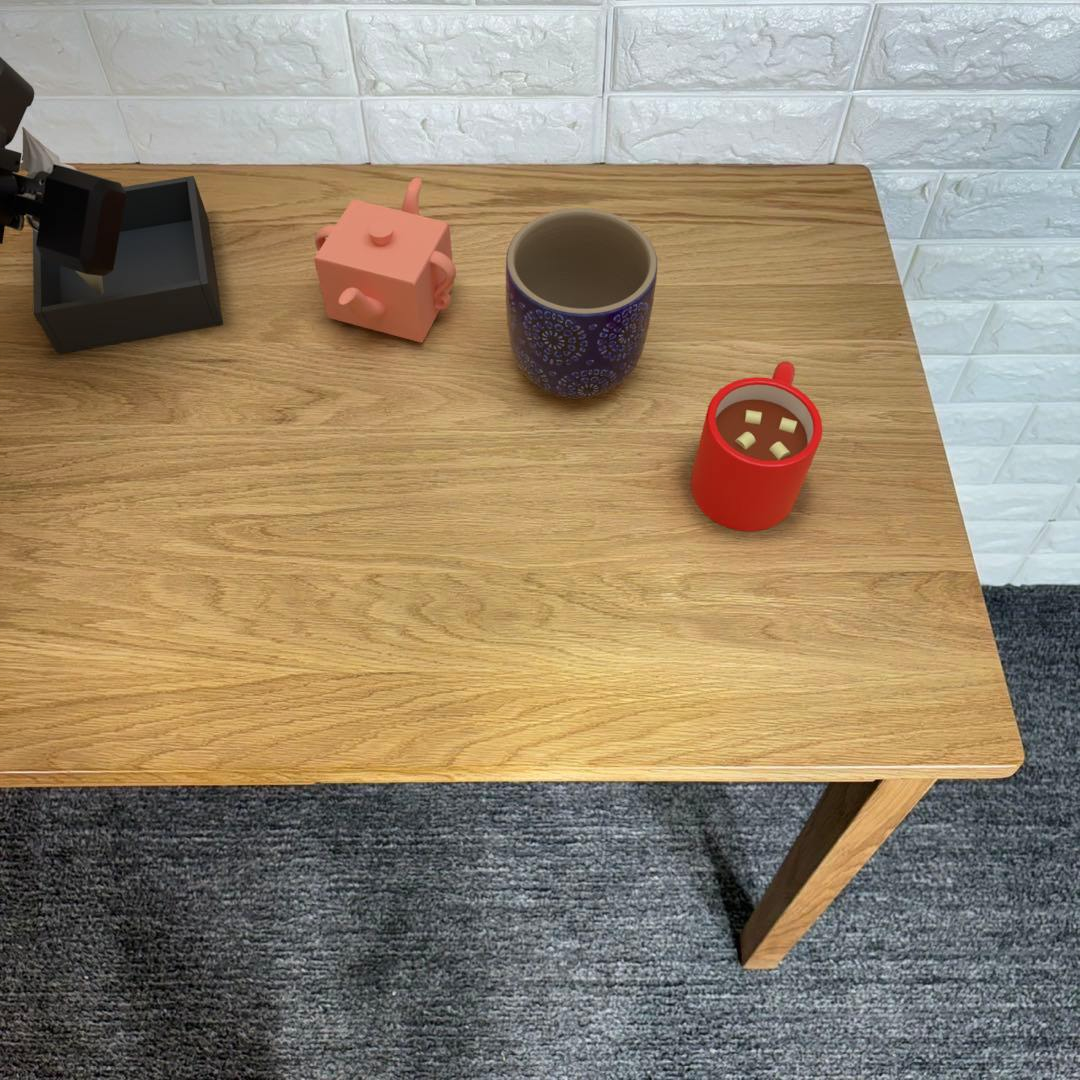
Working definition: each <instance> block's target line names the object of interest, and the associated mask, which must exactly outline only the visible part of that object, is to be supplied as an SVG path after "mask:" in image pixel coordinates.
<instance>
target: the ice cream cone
mask: <svg viewBox="0 0 1080 1080" xmlns="http://www.w3.org/2000/svg"><path fill="white" fill-rule="evenodd" d="M21 128H22V155H21V161H22V163H21V164H20V169H21V170H23V171H25V172H26V173H27V174H26V177H29V178H33V177H34V176H35V174H36V173H37V172H39V171H45V172H48V173H51V172H52V170H53V165H54V164H55V165H59V166H63V167H67V168H71V169H75V170H77V169H76V168H75V166H73V165H70V164H67V163H64V162H62V161H61V160H60V155H58V154H57V153H55V152H54V151H52V150H51V149H50V148H49V147H46V146H45V145H44V144H43V143H41V141H40V140H38V139H37V138H36V137H35V136H34V135H32V133H30V131H29V130H28V129H26V128H25V127H24V126H21ZM20 169H19V170H20ZM37 193H39V192H37ZM22 196H26V197H29V198H32V199H35V195H31V194H28V193H26V192H25V193H24V194H23V195H22ZM25 220H26V223H27V224H28V226H29V227H30V228H31V229H32V230H33V229H34V230H35V231H37V232H38V228H39V224H38V223H36V222H33V221H32V216H31V215H27V214H26V215H25ZM76 272H77V273H78V274H79V275H80V276H81V277H82V278H83V279H84V280H85V281H86V282H87V283H88V284H89V285H90V287H91V288H92V289H93V290H94V291H95V292H96V293H97V294H99V295H101V294H103V292H104V291H103V280H102V276H98V275H90V274H84V273H81V272H78V271H76Z"/></svg>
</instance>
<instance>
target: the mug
mask: <svg viewBox="0 0 1080 1080" xmlns="http://www.w3.org/2000/svg"><path fill="white" fill-rule="evenodd" d="M795 375H796V368H795V366H794V364H793V363H792V362H790V361H786V360H785V361H781V362H779V363H777V365H776V367H775V368H774V370H773V375H772V377H770V378H769V377H759V376H755V377H753V376H752V377H745V378H740V379H737V380H734V381H732V382H730V383H728V384H726V385H725V386H723V387H722V388H721V389H719V390H718V391H717V392H716V393H715V394H714V396H713V397H712V398H711V400H710V402H709V403H708V406H707V410H706V414H705V418H704V421H703V426H702V430H701V433H700V438H699V442H698V447H697V451H696V455H695V459H694V464H693V466H692V467H693V468H692V472H691V475H690V490H691V493H692V497H693V499H694V501H695V503H696V505H697V506H698V508H699V509H700V510H701V511H702V513H703V514H705V516H706V517H708V518H709V519H710V520H712V521H714V522H716V523H717V524H719V525H720V526H723V527H725V528H728V529H731V530H736V531H741V532H757V531H763V530H767V529H770V528H773V527H774V526H776V525H779V524H780V523H781V522H783V521H784V520H785V519H786V518H787V517H788V516H789V515H790V513H791V512H792V511H793V509H794V506H795V504H796V502H797V499H798V497H799V495H800V492H801V489H802V487H803V485H804V482H805V479H806V477H807V475H808V473H809V470H810V468H811V465H812V463H813V460H814V458H815V456H816V453H817V451H818V448H819V446H820V443H821V441H822V438H823V431H824V429H823V428H824V427H823V421H822V417H821V414H820V412H819V411H820V410H818V408H817V405H815V403H814V402H813V400H811V399H810V397H808V395H807V394H806V393H804V392H802V391H801V389H799V388H797V387H795V386H794V385H793V382H794V379H795V378H794V377H795Z"/></svg>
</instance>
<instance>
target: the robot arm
mask: <svg viewBox="0 0 1080 1080" xmlns="http://www.w3.org/2000/svg"><path fill="white" fill-rule="evenodd" d="M34 99H35V89H34V87H33V86H32V85H31V84H30V83H29V82H28V81H27V80H26V79H25V78H24V77H23V76H22V75H21V74H19V73H18V72H17V71H16V69H14V68H13V67H12V66H11V65H10V64H9V63H8V62H7V61H6V60H5V59H3V57H1V56H0V245H3V244H4V243H3V242H4V237H5V229H6V228H10V229H13V230H16V231H23V230H24V228H25V222H26V221H25V220H26V218H25V217H26V214H27V215H31V216H32V221H33V222H36V223H38V224H39V228H38V235H37V242H36V246H37V248H38V250H39V252H40V254H41V256H42V258H43V260H44V261H47V262H50V263H54V264H57V265H60V266H63V267H66V268H69V269H72V270H75V271H78V272H81V273H84V274H90V275H98V276H106V275H107V274H109V273H110V272H112V271H113V269H114V263H115V257H116V251H117V245H118V240H119V234H120V228H121V222H122V216H123V210H124V205H125V199H126V192H125V190H124V189H123V187H124V186H123V185H122V183H121V182H118V181H114V180H112V179H108V178H105V177H101V176H99V175H95V174H91V173H89V172H85V171H81V170H78V169H76V168H75V169H76V170H75V169H71V168H67V167H63V166H59V165H55V164H54V165H53V170H52V172H51V173H48V172H45V171H39V172H37V173H36V174H35V176H34V177H33V178H29V177H26V176H27V175H26V176H25V175H22V174H20V173H19V172H20V167H21V161H22V155H23V152H19V151H16V150H13V149H9V148H6V146H8V145H10V144H11V142H13V140H14V138H15V137H16V134H17V131H18V130H19V127H20V124H21V123H22V121H23V118H24V115H25V113H26V111H27V109H28V107H31V106H32V104H33V102H34ZM18 173H19V174H18ZM25 192H26V193H28V194H31V195H35V199H32V198H29V197H26V196H22V195H23V194H24V193H25ZM37 192H39V193H37Z"/></svg>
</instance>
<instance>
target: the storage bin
mask: <svg viewBox="0 0 1080 1080" xmlns="http://www.w3.org/2000/svg"><path fill="white" fill-rule="evenodd" d="M122 187H123V189H124V190H125V192H126V199H125V205H124V210H123V216H122V222H121V228H120V234H119V240H118V245H117V251H116V257H115V263H114V269H113V271H112V272H110V273H109V274H107V275H106V276H102V280H103V291H104V292H103V294H101V295H99V294H97V293H96V292H95V291H94V290H93V289H92V288H91V287H90V285H89V284H88V283H87V282H86V281H85V280H84V279H83V278H82V277H81V276H80V275H79V274H78V273H77V272H76V271H75V270H72V269H69V268H66V267H63V266H60V265H57V264H54V263H50V262H47V261H44V260H43V258H42V256H41V254H40V252H39V250H38V248H37V246H36V242H37V235H38V232H37V231H35V230H34V229H32V272H33V273H32V289H33V291H32V292H33V293H32V295H33V298H32V300H33V309H32V311H33V315H34V317H35V319H36V321H37V323H38V324H39V325H40V327H41V329H42V331H43V332H44V334H45V336H46V337H47V339H48V341H49V342H50V345H51V346H52V348H53V349H54V352H55V353H56V354H57V355H62V354H67V353H72V352H78V351H85V350H89V349H95V348H99V347H104V346H110V345H111V346H112V345H116V344H122V343H127V342H133V341H138V340H139V341H140V340H144V339H150V338H156V337H161V336H167V335H173V334H177V333H182V332H188V331H194V330H200V329H204V328H205V329H206V328H210V327H215V326H221V325H224V322H223V315H222V308H221V307H222V306H221V300H220V292H219V285H218V279H217V278H218V277H217V272H216V265H215V257H214V250H213V243H212V236H211V229H210V222H209V217H208V213H207V211H206V208H205V204H204V202H203V199H202V196H201V193H200V191H199V187H198V185H197V182H196V179H195V175H188V176H183V177H175V178H170V179H164V180H158V181H151V182H145V183H140V184H132V185H126V186H122Z"/></svg>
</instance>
